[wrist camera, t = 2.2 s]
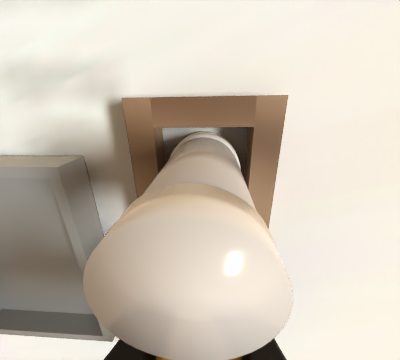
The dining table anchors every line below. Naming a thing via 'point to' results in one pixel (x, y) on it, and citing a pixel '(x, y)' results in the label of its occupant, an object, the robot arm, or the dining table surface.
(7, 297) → the tray
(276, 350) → the robot arm
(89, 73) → the dining table surface
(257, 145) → the brown wooden rack
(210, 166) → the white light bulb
